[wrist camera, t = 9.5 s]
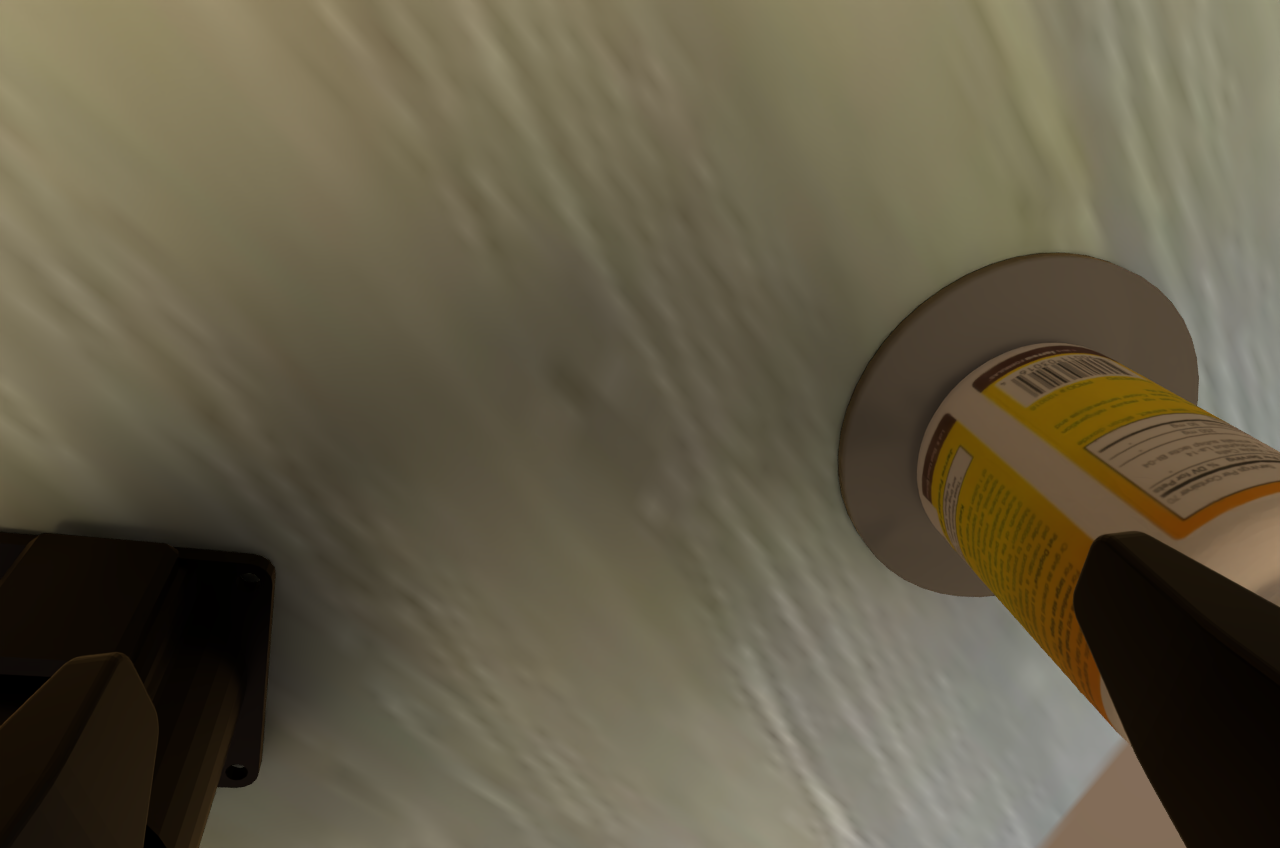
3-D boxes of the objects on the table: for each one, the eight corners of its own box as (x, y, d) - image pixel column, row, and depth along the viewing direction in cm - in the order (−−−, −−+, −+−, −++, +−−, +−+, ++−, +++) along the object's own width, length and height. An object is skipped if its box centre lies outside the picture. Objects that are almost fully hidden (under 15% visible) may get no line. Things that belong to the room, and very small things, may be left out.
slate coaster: (1094, 598, 26) (1105, 609, 25) (793, 570, 24) (799, 581, 23) (1246, 287, 22) (1262, 293, 22) (909, 220, 20) (919, 225, 20)
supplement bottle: (994, 579, 24) (1319, 940, 15) (860, 459, 22) (1148, 797, 13) (1165, 427, 23) (1630, 715, 14) (1043, 283, 21) (1500, 514, 12)
